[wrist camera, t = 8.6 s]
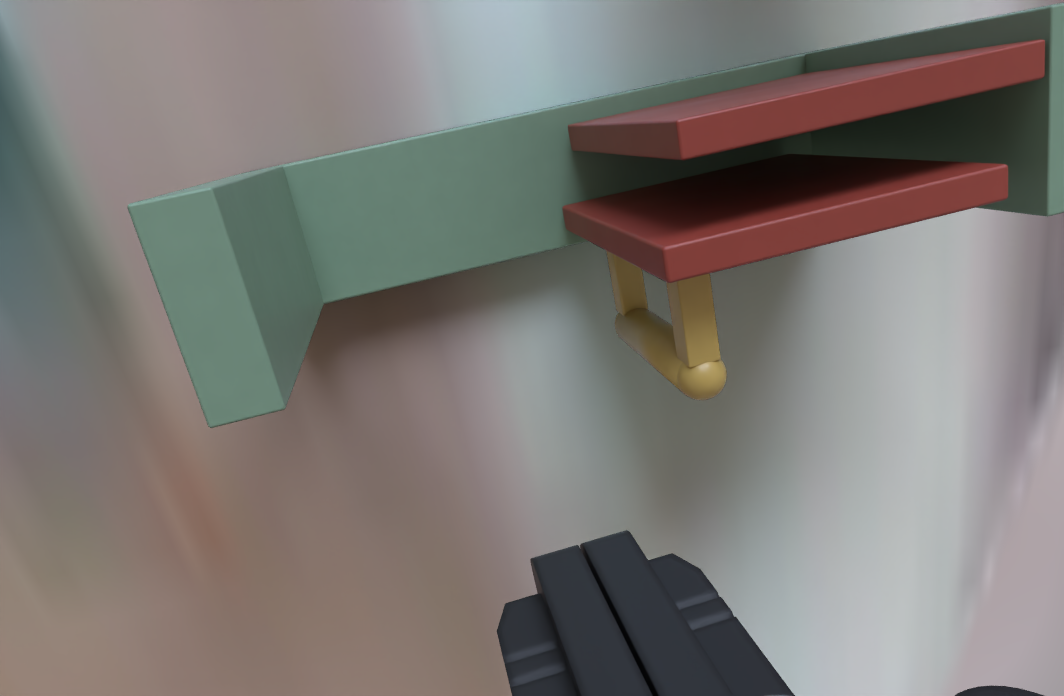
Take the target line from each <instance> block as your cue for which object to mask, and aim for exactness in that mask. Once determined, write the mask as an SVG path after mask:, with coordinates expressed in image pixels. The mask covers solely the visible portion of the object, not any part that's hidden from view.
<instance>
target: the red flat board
mask: <svg viewBox="0 0 1064 696" xmlns="http://www.w3.org/2000/svg"><path fill="white" fill-rule="evenodd" d="M1007 198H1008V166H1007V165H1005V164H993V163H973V162H952V161H931V160H910V159H890V158H869V157H848V156H828V155H807V154H786V155H781V156H777V157H773V158H768V159H764V160H760V161H755V162H751V163H747V164H742V165H738V166H734V167H729V168H725V169H721V170H716V171H712V172H708V173H703V174H699V175H694V176H690V177H686V178H681V179H677V180H673V181H668V182H664V183H660V184H655V185H651V186H647V187H642V188H638V189H634V190H629V191H625V192H621V193H616V194H612V195H608V196H603V197H599V198H595V199H590V200H586V201H582V202H577V203H573V204H569V205H564V206H563V207H562V211H563V216H564V221H565V227H566V229H567V230H569V231H570V232H572V233H574V234H576V235H578V236H580V237H582V238H584V239H586V240H587V241H589V242H591V243H593V244H595V245H597V246H599V247H601V248H603V249H605V250H606V252H607V258H608V264H609V270H610V276H611V282H612V287H613V293H614V299H615V305H616V310H617V312H619V313H618V314H617V316H616V319H615V330H616V333H617V334H618V336H619V337H620V338H621V339H622V340H623V341H624V342H625V343H626V344H627V345H629V346H630V347H631V348H632V349H633V350H634V351H636V352H637V353H638V354H639V355H640V356H641V357H642V358H644V359H645V360H646V361H647V362H648V363H649V364H650V365H652V366H653V367H654V368H655V369H656V370H657V371H658V372H660V373H661V374H662V375H663V376H664V377H665V378H666V379H668V380H669V381H670V382H671V383H672V384H673V385H675V386H676V387H677V388H678V389H679V390H680V391H681V392H683V393H684V394H685V395H686V396H688V397H690V398H692V399H696V400H708V399H710V398H713V397H715V396H716V395H718V394H719V393H720V392H721V391H722V389H723V388H724V386H725V383H726V379H727V371H726V368H725V365H724V363H723V361H722V360H721V357H720V349H719V342H718V334H717V326H716V318H715V310H714V303H713V295H712V287H711V279H710V273H713V272H717V271H721V270H725V269H729V268H733V267H737V266H741V265H745V264H749V263H753V262H758V261H762V260H766V259H770V258H774V257H778V256H782V255H786V254H790V253H794V252H798V251H802V250H806V249H810V248H814V247H818V246H822V245H826V244H830V243H834V242H838V241H842V240H846V239H850V238H854V237H858V236H862V235H866V234H870V233H874V232H878V231H882V230H886V229H890V228H894V227H898V226H903V225H907V224H911V223H915V222H919V221H923V220H927V219H931V218H935V217H939V216H943V215H947V214H951V213H955V212H959V211H963V210H967V209H971V208H975V207H979V206H983V205H987V204H991V203H995V202H999V201H1003V200H1006V199H1007ZM642 270H644V271H646V272H648V273H650V274H652V275H654V276H656V277H658V278H659V279H661V280H663V281H665V282H666V285H667V292H668V298H669V305H670V312H671V319H672V325H673V326H672V325H671V324H669V323H668V322H666V321H665V320H663V319H662V318H660V317H659V316H657V315H656V314H654V313H653V312H651V311H650V310H648V305H647V298H646V292H645V286H644V279H643V273H642Z"/></svg>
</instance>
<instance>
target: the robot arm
mask: <svg viewBox="0 0 1064 696" xmlns="http://www.w3.org/2000/svg"><path fill="white" fill-rule="evenodd" d="M531 566H532V571H533V575H534V579H535V584H536V588H537V592H538V594H535V595H532V596H529V597H525V598H522V599H519V600H515V601H512V602H509V603H505V606H504V610H503V613H502V616H501V619H500V622H499V626H498V629H497V634H498V638H499V642H500V646H501V651H502V655H503V659H504V663H505V667H506V671H507V675H508V680H509V684H510V688H511V692H512V696H795V695H794V694H793V693H792V692H791V690H790V689H789V688H788V686H787V685H786V684H785V682H784V681H783V680H782V678H781V677H780V675H779V674H778V673H777V671H776V670H775V669H774V667H773V666H772V665H771V663H770V662H769V661H768V659H767V658H766V657H765V655H764V654H763V653H762V651H761V650H760V649H759V647H758V646H757V645H756V643H755V642H754V641H753V639H752V638H751V637H750V635H749V634H748V633H747V631H746V630H745V628H744V627H743V626H742V624H741V623H740V622H739V620H738V619H737V618H736V617H734V616H733V614H732V611H731V610H730V608H729V607H728V606H727V604H726V603H725V602H724V600H723V599H722V598H721V597H719V596H718V592H717V591H716V590H715V588H714V587H713V585H712V584H711V583H710V581H709V580H708V579H707V577H706V576H705V575H704V573H703V572H702V571H701V569H699V568H698V567H696V566H694V565H692V564H690V563H689V562H687V561H685V560H683V559H682V558H680V557H678V556H676V555H674V554H673V553H672V554H668V555H665V556H662V557H658V558H655V559H652V560H647V558H646V556H645V555H644V553H643V552H642V550H641V549H640V547H639V545H638V544H637V542H636V541H635V539H634V538H633V536H632V535H631V533H630V532H629V531H628V530H626V531H623V532H619V533H616V534H612V535H609V536H606V537H602V538H599V539H595V540H592V541H588V542H585V543H582V544H581V545H580V547H579V546H578V545H576V546H572V547H569V548H565V549H562V550H558V551H555V552H552V553H548V554H545V555H541V556H538V557H535V558H531ZM955 696H1043V695H1040V694H1037V693H1034V692H1030V691H1027V690H1022V689H1019V688H1013V687H1006V686H981V687H976V688H971V689H967V690H965V691H963V692H960V693H958V694H956V695H955Z"/></svg>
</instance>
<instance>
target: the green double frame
mask: <svg viewBox="0 0 1064 696" xmlns="http://www.w3.org/2000/svg"><path fill="white" fill-rule="evenodd" d="M786 154H807V155H828V156H848V157H869V158H890V159H910V160H931V161H952V162H973V163H993V164H1005V165H1007V166H1008V198H1007V199H1006V200H1003V201H999V202H995V203H991V204H987V205H983V206H979V207H976V208H984V209H992V210H1000V211H1008V212H1016V213H1024V214H1032V215H1040V216H1052V215H1056V214H1060V213H1063V212H1064V3H1059V4H1053V5H1048V6H1043V7H1038V8H1033V9H1028V10H1023V11H1017V12H1012V13H1007V14H1002V15H997V16H992V17H987V18H981V19H976V20H971V21H966V22H961V23H956V24H951V25H945V26H940V27H935V28H930V29H925V30H920V31H914V32H909V33H904V34H899V35H894V36H889V37H884V38H878V39H873V40H868V41H863V42H858V43H853V44H848V45H843V46H837V47H832V48H827V49H822V50H817V51H812V52H808V53H803V54H798V55H794V56H789V57H784V58H780V59H775V60H770V61H766V62H761V63H756V64H751V65H747V66H742V67H737V68H733V69H728V70H723V71H719V72H714V73H709V74H705V75H700V76H695V77H691V78H686V79H681V80H677V81H672V82H667V83H662V84H658V85H653V86H648V87H644V88H639V89H634V90H630V91H625V92H620V93H616V94H611V95H606V96H602V97H597V98H592V99H588V100H583V101H578V102H573V103H569V104H564V105H559V106H555V107H550V108H545V109H541V110H536V111H531V112H527V113H522V114H517V115H513V116H508V117H503V118H499V119H494V120H489V121H484V122H480V123H475V124H470V125H466V126H461V127H456V128H452V129H447V130H442V131H438V132H433V133H428V134H424V135H419V136H414V137H410V138H405V139H400V140H396V141H391V142H386V143H381V144H377V145H372V146H367V147H363V148H358V149H353V150H349V151H344V152H339V153H335V154H330V155H325V156H321V157H316V158H311V159H307V160H302V161H297V162H292V163H288V164H283V165H278V166H274V167H269V168H264V169H260V170H255V171H250V172H246V173H241V174H238V175H234V176H230V177H227V178H223V179H219V180H216V181H212V182H208V183H205V184H201V185H197V186H194V187H190V188H186V189H183V190H179V191H175V192H172V193H168V194H164V195H160V196H157V197H153V198H149V199H146V200H142V201H138V202H135V203H131V204H129V205H128V211H129V213H130V216H131V219H132V221H133V224H134V227H135V230H136V232H137V235H138V238H139V240H140V243H141V246H142V248H143V251H144V254H145V257H146V259H147V262H148V265H149V267H150V270H151V273H152V275H153V278H154V281H155V283H156V286H157V289H158V292H159V294H160V297H161V300H162V302H163V305H164V308H165V310H166V313H167V316H168V319H169V321H170V324H171V327H172V329H173V332H174V335H175V337H176V340H177V343H178V346H179V348H180V351H181V354H182V356H183V359H184V362H185V364H186V367H187V370H188V372H189V375H190V378H191V381H192V383H193V386H194V389H195V391H196V394H197V397H198V399H199V402H200V405H201V408H202V410H203V413H204V416H205V418H206V421H207V424H208V426H209V427H210V428H214V427H218V426H222V425H226V424H229V423H233V422H237V421H241V420H245V419H249V418H253V417H257V416H261V415H265V414H269V413H273V412H277V411H281V410H284V409H285V408H286V405H287V403H288V400H289V397H290V394H291V392H292V389H293V386H294V383H295V381H296V378H297V375H298V373H299V370H300V367H301V364H302V362H303V359H304V356H305V354H306V351H307V348H308V345H309V343H310V340H311V337H312V334H313V332H314V329H315V326H316V324H317V321H318V318H319V315H320V313H321V310H322V307H323V304H327V303H331V302H335V301H339V300H344V299H348V298H352V297H356V296H360V295H365V294H369V293H373V292H377V291H382V290H386V289H390V288H394V287H398V286H403V285H407V284H411V283H415V282H419V281H424V280H428V279H432V278H436V277H440V276H445V275H449V274H453V273H457V272H461V271H466V270H470V269H474V268H478V267H482V266H487V265H491V264H495V263H499V262H504V261H508V260H512V259H516V258H520V257H525V256H529V255H533V254H537V253H541V252H546V251H550V250H554V249H558V248H562V247H567V246H571V245H575V244H579V243H583V242H588V241H587V240H586V239H584V238H582V237H580V236H578V235H576V234H574V233H572V232H570V231H569V230H567V229H566V227H565V221H564V216H563V211H562V207H563V206H564V205H569V204H573V203H577V202H582V201H586V200H590V199H595V198H599V197H603V196H608V195H612V194H616V193H621V192H625V191H629V190H634V189H638V188H642V187H647V186H651V185H655V184H660V183H664V182H668V181H673V180H677V179H681V178H686V177H690V176H694V175H699V174H703V173H708V172H712V171H716V170H721V169H725V168H729V167H734V166H738V165H742V164H747V163H751V162H755V161H760V160H764V159H768V158H773V157H777V156H781V155H786Z"/></svg>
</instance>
